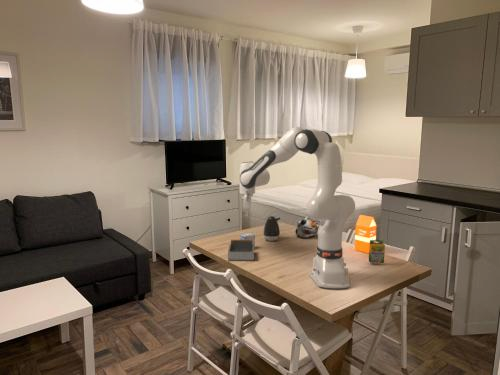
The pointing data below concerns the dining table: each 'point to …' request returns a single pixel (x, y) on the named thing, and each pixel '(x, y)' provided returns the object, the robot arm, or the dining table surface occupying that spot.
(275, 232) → the pump dispenser
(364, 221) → the orange juice
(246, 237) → the medicine box
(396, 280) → the dining table surface
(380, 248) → the crayon box
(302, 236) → the lucky cat figurine
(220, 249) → the dining table surface
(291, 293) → the dining table surface
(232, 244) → the metal drawer
